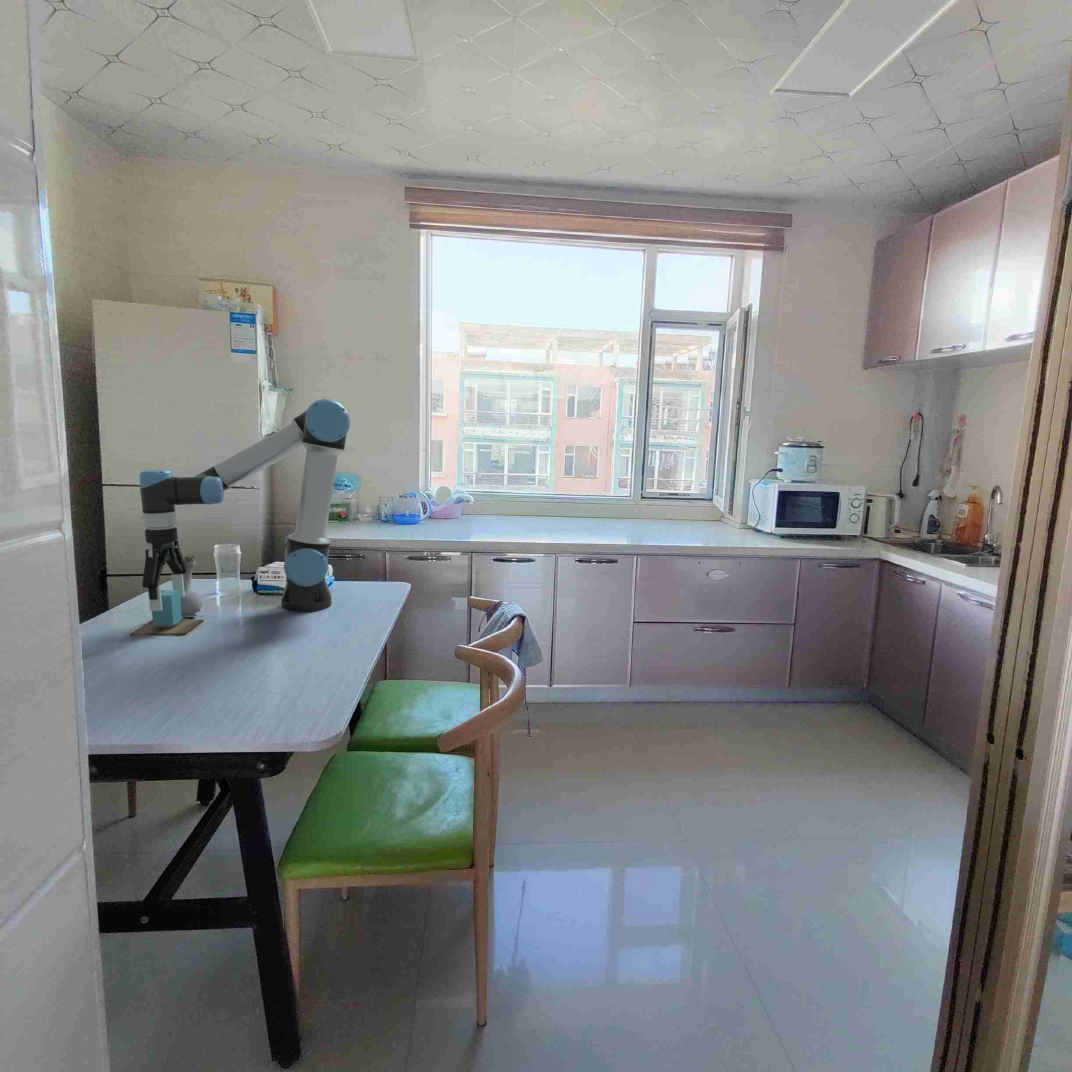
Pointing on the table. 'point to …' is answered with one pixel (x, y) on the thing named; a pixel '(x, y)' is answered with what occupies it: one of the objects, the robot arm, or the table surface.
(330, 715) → the table surface
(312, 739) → the table surface
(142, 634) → the board
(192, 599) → the potion bottle
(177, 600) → the teal boxy block
